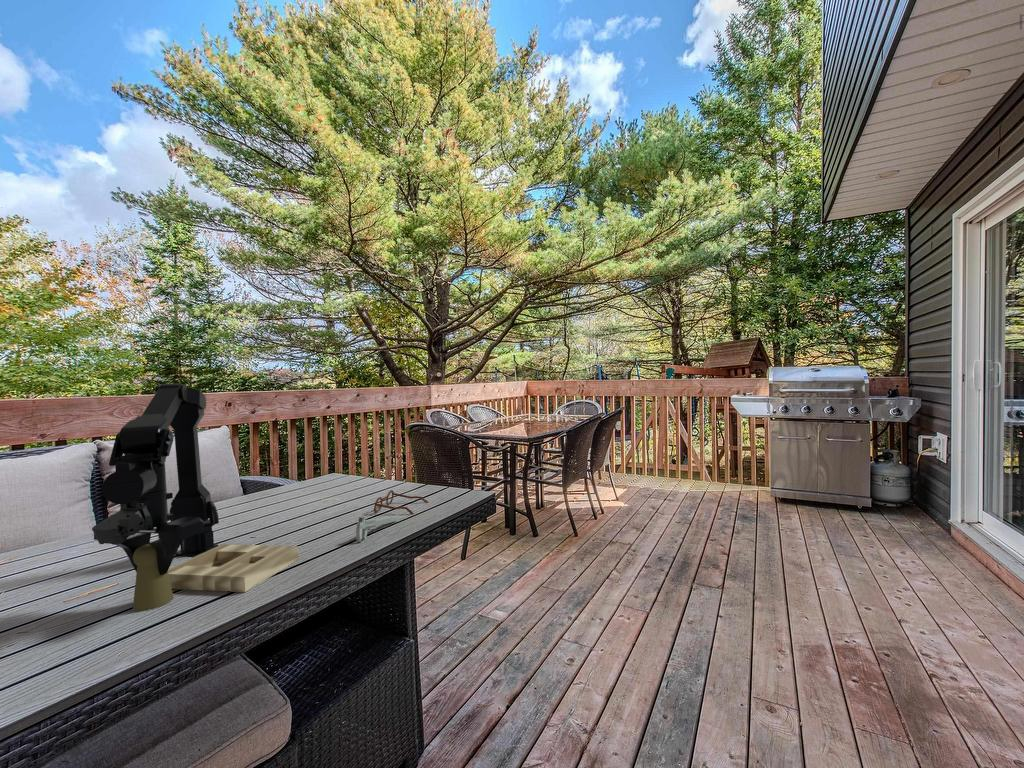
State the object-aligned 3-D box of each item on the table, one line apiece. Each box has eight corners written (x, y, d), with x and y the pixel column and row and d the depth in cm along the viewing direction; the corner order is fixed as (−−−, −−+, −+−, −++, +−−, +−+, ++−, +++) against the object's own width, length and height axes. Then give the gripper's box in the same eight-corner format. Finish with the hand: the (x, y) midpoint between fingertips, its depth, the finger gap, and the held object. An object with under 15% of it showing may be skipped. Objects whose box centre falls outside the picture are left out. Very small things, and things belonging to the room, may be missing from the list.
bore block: (158, 588, 92) (157, 573, 92) (222, 557, 108) (221, 544, 108) (245, 592, 88) (244, 577, 88) (298, 559, 104) (297, 546, 104)
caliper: (360, 544, 113) (359, 519, 113) (356, 543, 114) (355, 518, 113) (402, 518, 133) (401, 497, 133) (399, 518, 133) (398, 497, 133)
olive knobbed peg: (140, 599, 88) (137, 542, 87) (178, 592, 90) (175, 537, 90) (126, 613, 82) (123, 553, 82) (167, 606, 84) (163, 547, 84)
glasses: (391, 503, 151) (390, 488, 151) (429, 503, 149) (428, 488, 149) (373, 515, 138) (372, 499, 138) (414, 516, 136) (413, 499, 136)
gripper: (57, 502, 79) (63, 591, 80) (147, 503, 76) (152, 596, 76) (123, 487, 90) (127, 565, 90) (204, 487, 87) (208, 568, 87)
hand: (152, 573), depth 86 cm, fingers closed on olive knobbed peg, 5 cm apart
